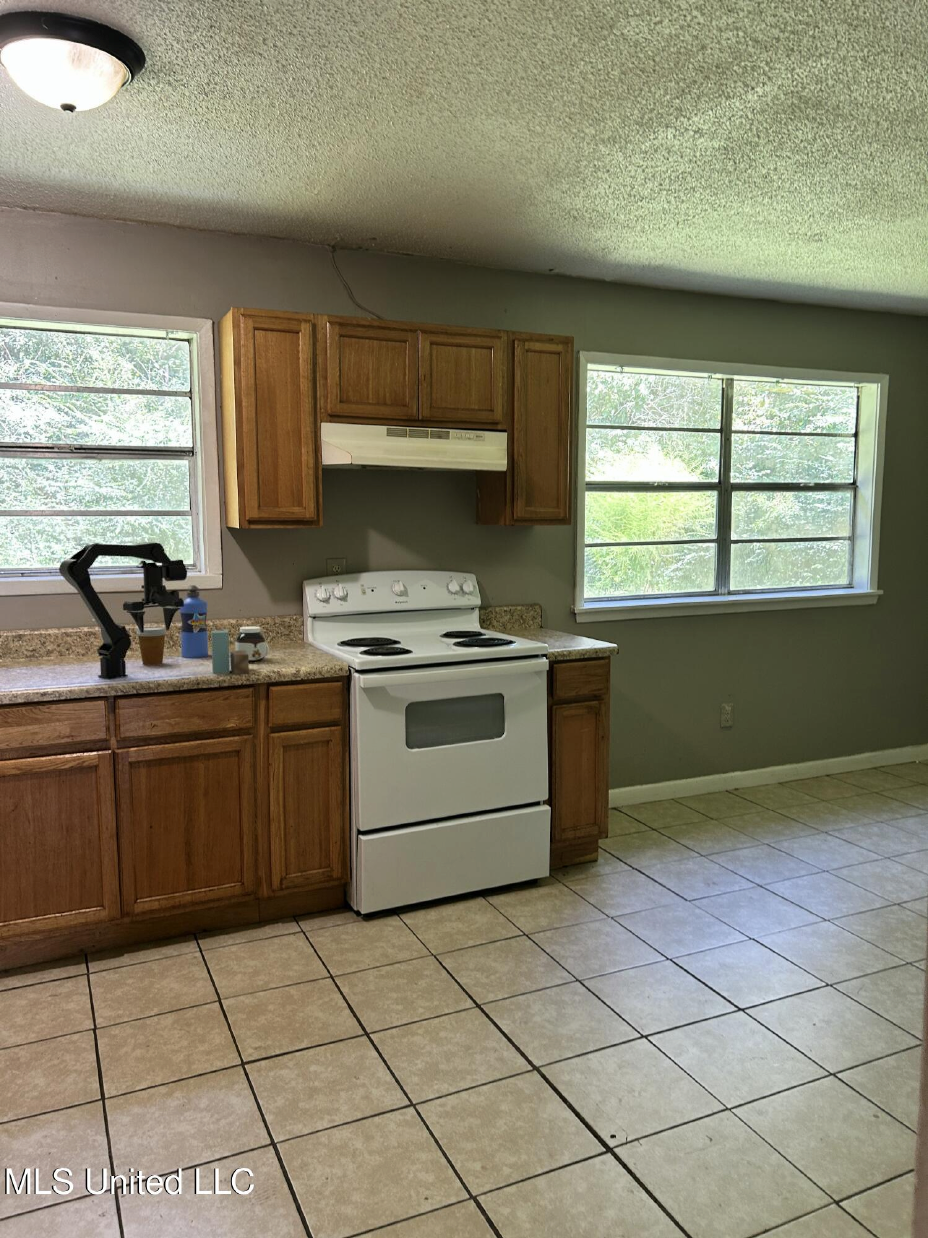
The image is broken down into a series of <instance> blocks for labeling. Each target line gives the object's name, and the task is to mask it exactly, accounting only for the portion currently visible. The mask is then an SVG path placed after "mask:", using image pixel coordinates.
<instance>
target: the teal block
mask: <svg viewBox="0 0 928 1238" xmlns="http://www.w3.org/2000/svg"><path fill="white" fill-rule="evenodd" d="M229 634H230V633H229V630H226V629H225V630H211V655H212V656H211V663H212V664H211V665H212V666H211V667H212V674H213V675H214V674H215V675H216V674H230V673H231V672H230V670H231V668H230V639H229V637H230V636H229Z"/></svg>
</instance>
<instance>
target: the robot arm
mask: <svg viewBox="0 0 928 1238" xmlns="http://www.w3.org/2000/svg"><path fill="white" fill-rule="evenodd" d="M99 557H125V558H126V557H129V558H130V557H132V558H136V559H140V562H138V564H137V565H136V566H135V567H136V569H143V571H142V572H143V584H142V585H141V589H143V596H144V597H142V598H141V600H126V601H124V602H123V604H122V610H123V611H126V613H128V614H130V616H131V617H132V619H133V620H134V622H135V624H136V626H137V629H138V628H139V630H140V632H141V633H144V627H145V622H144V621H145V619H144V617H145V614H146V611H145V609H147V608H157V607H161V608H162V612H163V618H164V619H163V620H164V626H165V627H164V628H165V630H166V631H168V630H170V627H171V625H172V621H173V619H174V616H175V614H176V613H177V612H179V611H180V609H181V608H180V607H184V599H183V598H182V597H180V593H179V591H178V590H176V589H174V590H170V591H167V587H166V585H164V581H163V579H164V580H165V582H180V581H185V580H186V579H187V577H188V570H187V568H186V565H185V563H184V559H173V560H172V559H170V557H169V556H168V555H167V553H166V552H165V548H164V546H163V545H162V543H160V542H153V541H152V542H151V541H146V542H139V543H133V544H115V543H114V544H113V543H110V544H109V543H97V542H89V543H86V544H85V546H83V548H81V549H80V550H79V551H77V552H76V553H74V554H73V555H71V556H70V557H69V558H68V559H63V561H62V562H60V565H59V568H58V571H59V574H60V575H61V577H62V578H63V579H64V580H65V581H66V582H67V583H68V584H69V585H70V586H72V587H73V588H74V589H75V590H76V591H77V593H78V595H79V596H80V598H81V599H82V601H83V602H84V604H85V606H86V608H87V610H88V611H89V613H90V614H91V615H92V617H93V619H94V620H95V622H96V624H97V625H98V627H99V629H100V635H101V639H102V641H103V643H101V645H100V646H99V647H98V648H97V650H96V652H97V655H98V656H99V657H100V658H99V660H100V661H99V663H100V664H99V665H100V674H99V675H97V677H98V678H102V679H106V680H107V679H108V680H111V679H119V678H123V677H124V678H125V677H128V676H129V675H128V674H126V673H127V671H126V670H127V668H126V667H127V665H126V664H127V663H126V660H125V659H126V655H127V653H128V651H129V650H130V648H131V645H132V640H131V638H132V635H131V634H129V632H128V630H127V628H126V625H123V624H117V623H116V622H115V621H114V619H113V618H112V616H111V615H110V613H109V611H108V610H107V608H106V606H105V604H104V603H103V601H102V600H101V598H100V597H99V595H98V593H97V592H96V591H97V590H95V588H94V586H93V584H92V580H91V574H90V572H89V569H90V568H91V567H93V565H94V563H95V561H96V560H97V559H98V558H99ZM147 561H151V562H147ZM143 610H144V611H143Z"/></svg>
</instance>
